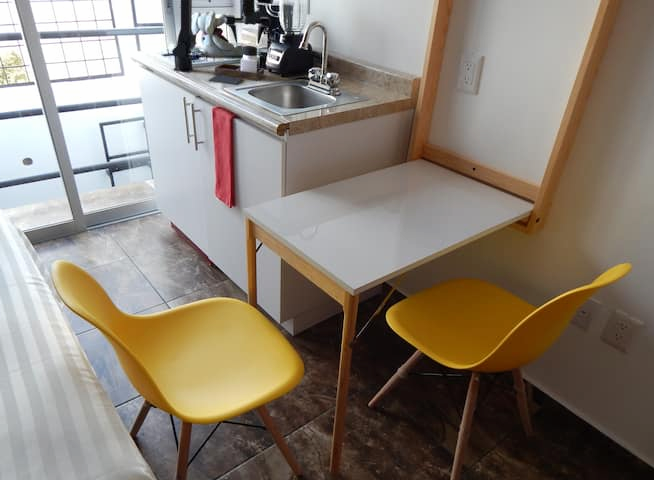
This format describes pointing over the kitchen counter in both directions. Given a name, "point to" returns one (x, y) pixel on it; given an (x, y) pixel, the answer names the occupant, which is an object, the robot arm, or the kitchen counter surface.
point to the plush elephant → (213, 36)
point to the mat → (226, 79)
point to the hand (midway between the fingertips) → (247, 43)
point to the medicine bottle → (250, 59)
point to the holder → (237, 72)
